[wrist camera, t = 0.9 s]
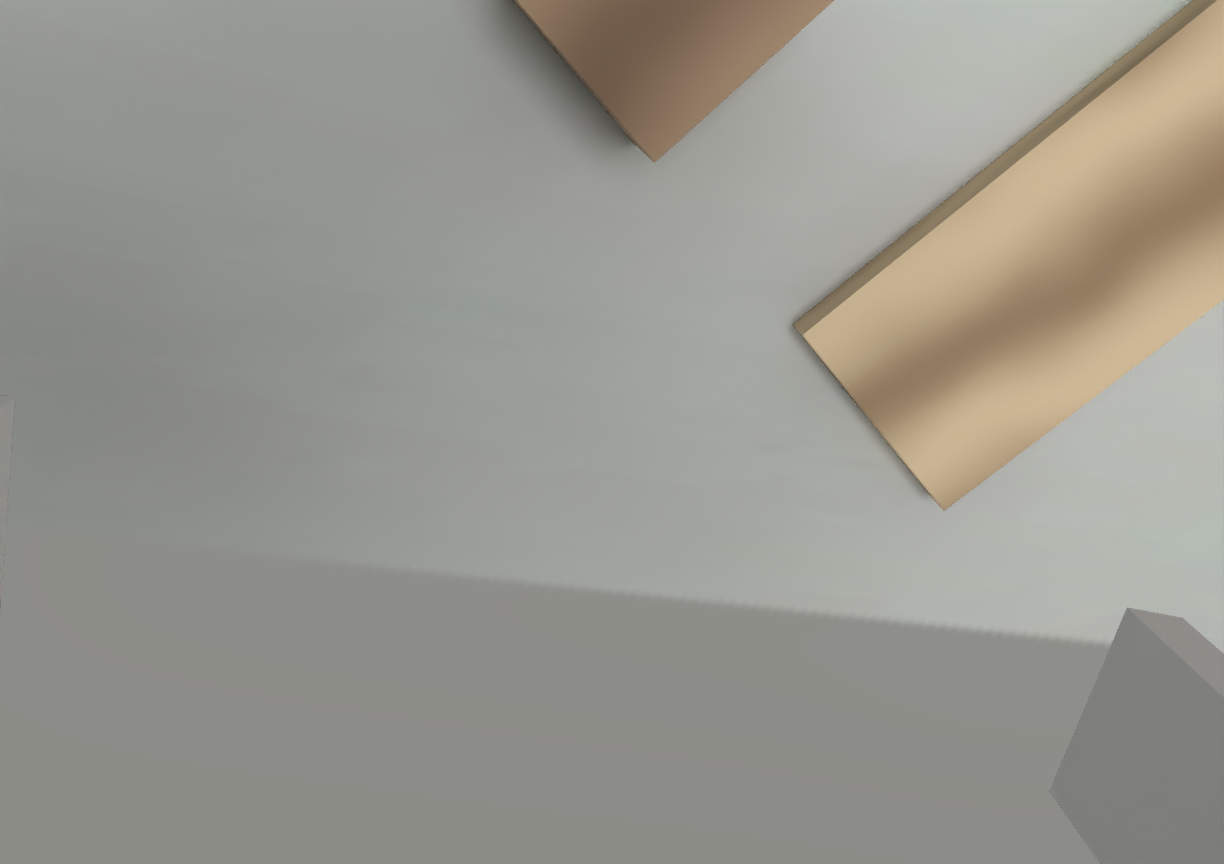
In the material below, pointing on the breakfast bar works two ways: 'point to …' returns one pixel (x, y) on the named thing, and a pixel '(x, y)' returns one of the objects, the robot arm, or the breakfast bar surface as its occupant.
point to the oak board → (1044, 267)
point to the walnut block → (666, 54)
